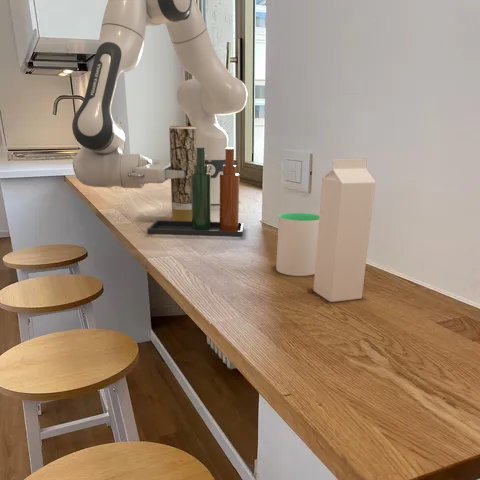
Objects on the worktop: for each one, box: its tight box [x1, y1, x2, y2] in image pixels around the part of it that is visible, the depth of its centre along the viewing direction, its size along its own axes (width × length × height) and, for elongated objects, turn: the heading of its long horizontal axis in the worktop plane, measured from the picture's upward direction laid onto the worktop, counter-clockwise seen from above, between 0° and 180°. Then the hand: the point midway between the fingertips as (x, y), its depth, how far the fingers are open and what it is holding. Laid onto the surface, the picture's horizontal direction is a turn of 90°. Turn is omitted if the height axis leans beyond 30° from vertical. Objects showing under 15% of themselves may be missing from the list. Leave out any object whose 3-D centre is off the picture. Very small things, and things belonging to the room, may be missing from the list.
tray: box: [146, 219, 245, 238], centre depth 126 cm, size 11×23×2 cm, turn 88°
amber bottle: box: [218, 147, 240, 231], centre depth 122 cm, size 5×5×20 cm
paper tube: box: [169, 125, 196, 221], centre depth 132 cm, size 7×7×25 cm
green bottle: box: [191, 147, 212, 230], centre depth 122 cm, size 5×5×20 cm
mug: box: [275, 212, 319, 277], centre depth 96 cm, size 12×8×10 cm, turn 109°
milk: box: [312, 158, 376, 303], centre depth 79 cm, size 6×6×22 cm
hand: (186, 172), depth 132 cm, fingers closed on paper tube, 7 cm apart
